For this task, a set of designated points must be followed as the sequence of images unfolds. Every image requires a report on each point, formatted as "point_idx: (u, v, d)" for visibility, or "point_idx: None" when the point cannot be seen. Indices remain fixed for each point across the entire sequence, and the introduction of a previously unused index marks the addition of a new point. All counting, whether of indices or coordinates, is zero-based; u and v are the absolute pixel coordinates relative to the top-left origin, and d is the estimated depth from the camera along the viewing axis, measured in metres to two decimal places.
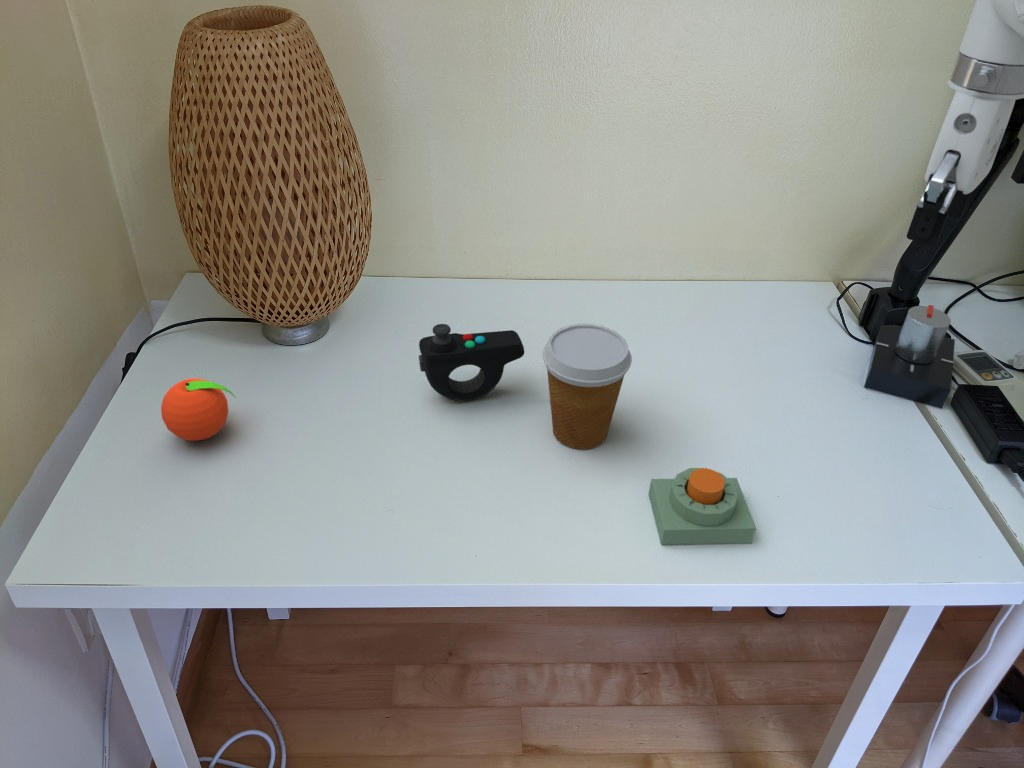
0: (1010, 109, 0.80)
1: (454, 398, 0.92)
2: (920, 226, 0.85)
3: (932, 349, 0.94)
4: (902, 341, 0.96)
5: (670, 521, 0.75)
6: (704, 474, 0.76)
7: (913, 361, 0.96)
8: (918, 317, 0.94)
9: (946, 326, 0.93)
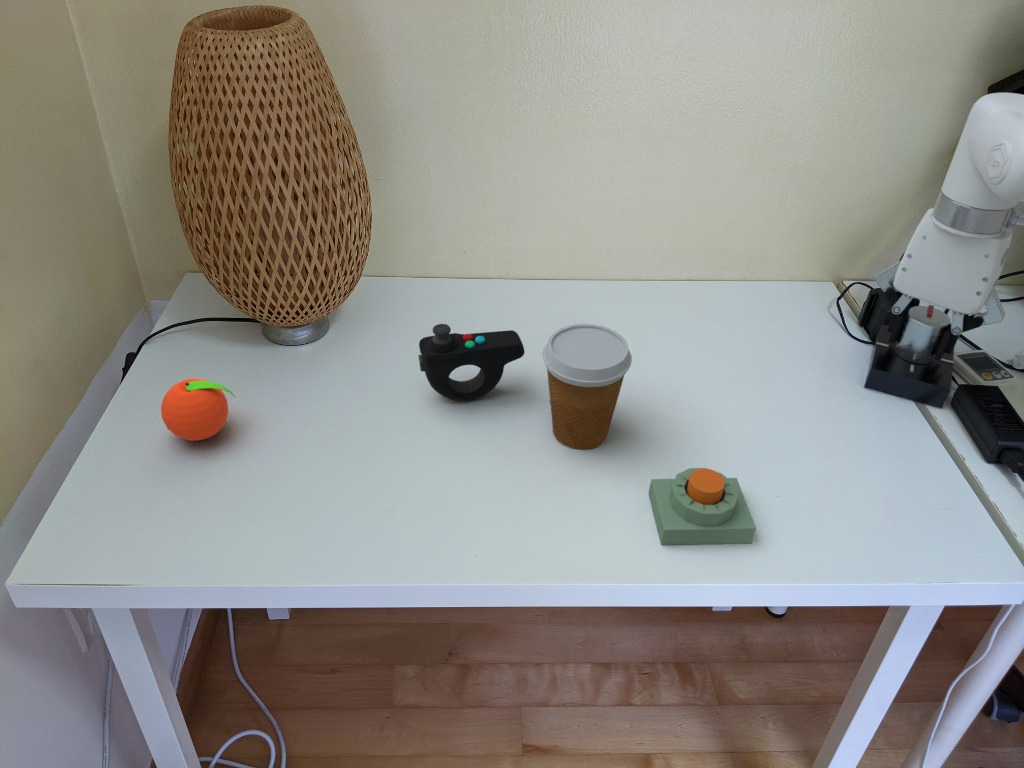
0: None
1: (454, 398, 0.92)
2: (954, 345, 0.94)
3: (932, 349, 0.94)
4: (902, 341, 0.96)
5: (670, 521, 0.75)
6: (704, 474, 0.76)
7: (913, 361, 0.96)
8: (918, 317, 0.94)
9: (946, 326, 0.93)
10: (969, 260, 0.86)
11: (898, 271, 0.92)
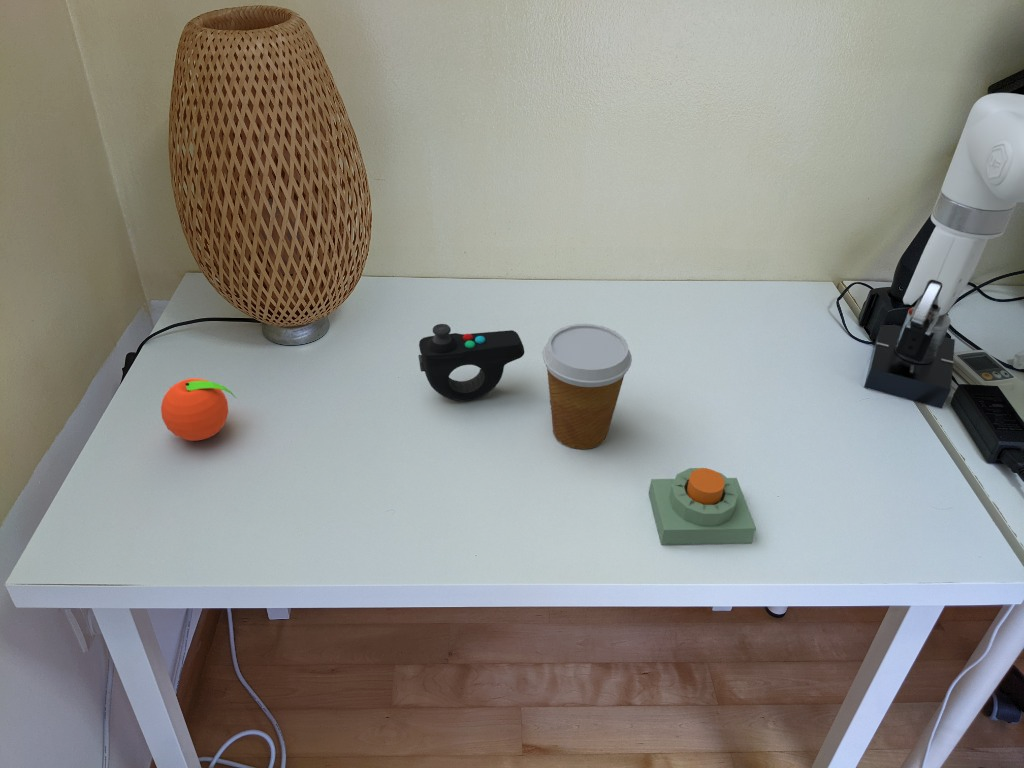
0: None
1: (454, 398, 0.92)
2: None
3: None
4: (931, 350, 0.94)
5: (670, 521, 0.75)
6: (704, 474, 0.76)
7: (935, 356, 0.97)
8: (937, 323, 0.93)
9: None
10: None
11: (949, 300, 0.87)
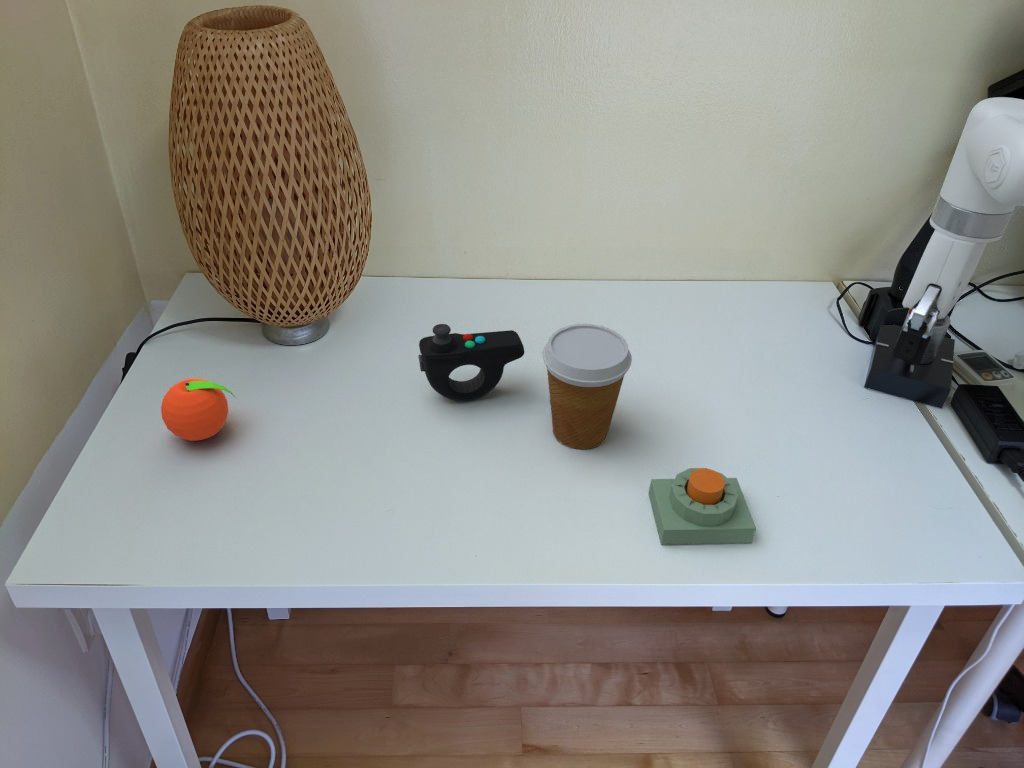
0: None
1: (454, 398, 0.92)
2: None
3: None
4: (931, 350, 0.94)
5: (670, 521, 0.75)
6: (704, 474, 0.76)
7: (935, 357, 0.97)
8: (936, 323, 0.93)
9: None
10: None
11: (948, 303, 0.87)
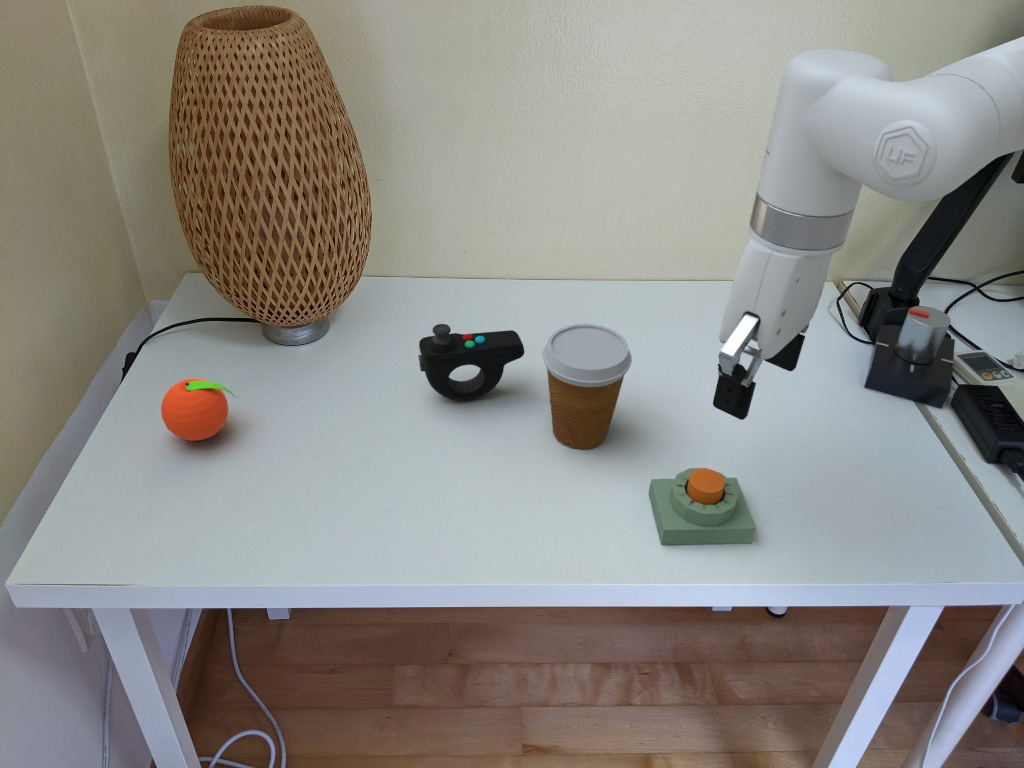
0: None
1: (454, 398, 0.92)
2: None
3: None
4: (931, 350, 0.94)
5: (670, 521, 0.75)
6: (704, 474, 0.76)
7: (935, 357, 0.97)
8: (936, 323, 0.93)
9: None
10: (821, 268, 0.65)
11: (771, 339, 0.63)
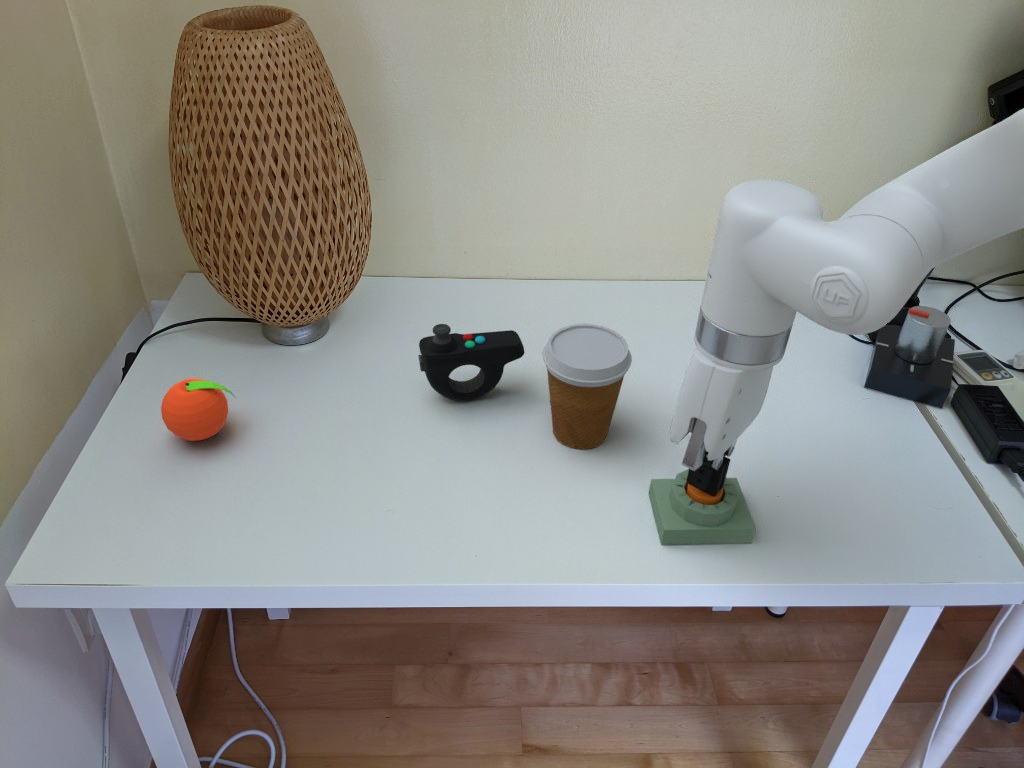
0: None
1: (454, 398, 0.92)
2: None
3: None
4: (931, 350, 0.94)
5: (670, 521, 0.75)
6: None
7: (935, 357, 0.97)
8: (936, 323, 0.93)
9: None
10: (765, 373, 0.68)
11: (717, 443, 0.66)
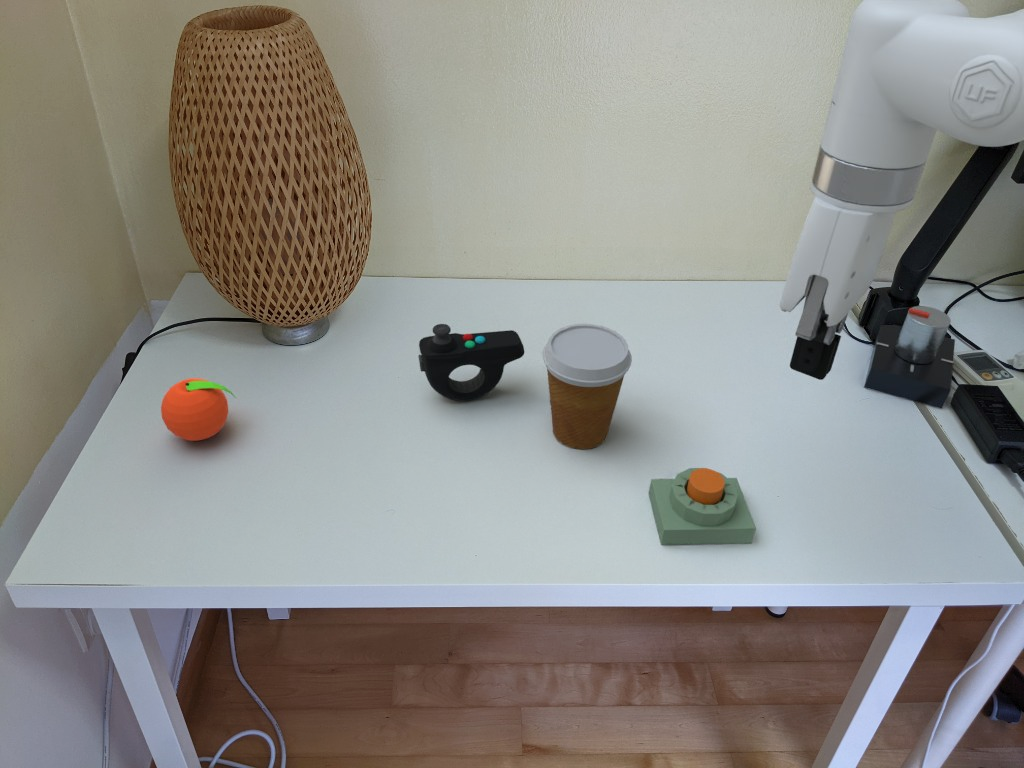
0: None
1: (454, 398, 0.92)
2: None
3: None
4: (931, 350, 0.94)
5: (670, 521, 0.75)
6: (704, 474, 0.76)
7: (935, 357, 0.97)
8: (936, 323, 0.93)
9: None
10: None
11: (839, 303, 0.60)
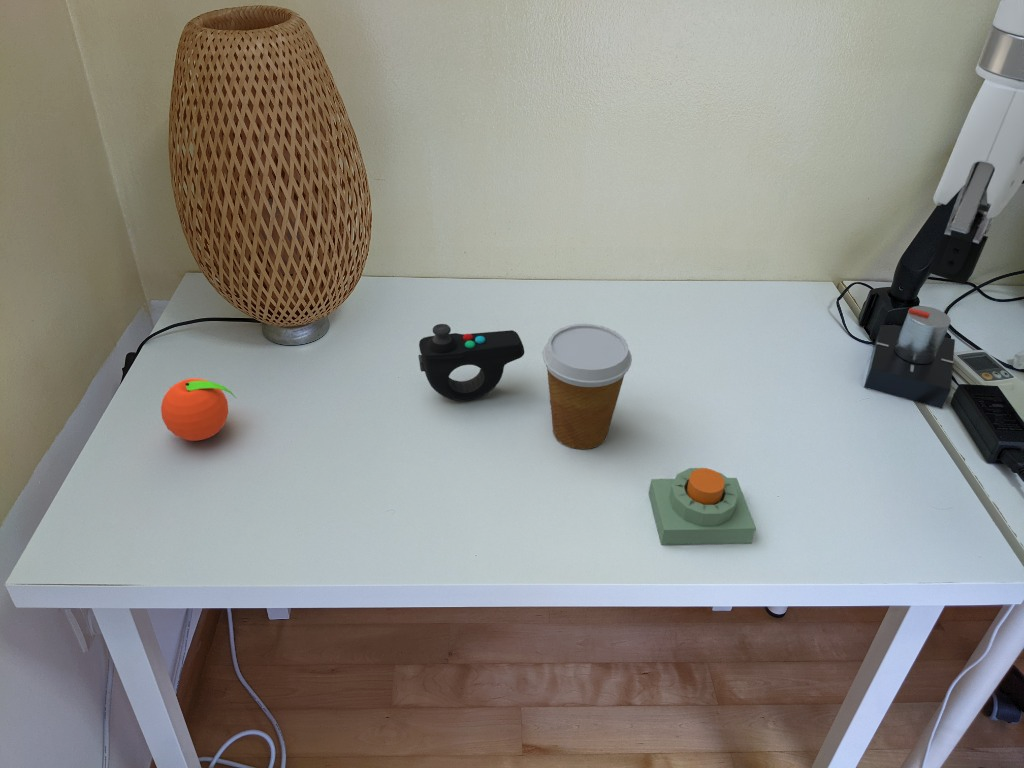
0: None
1: (454, 398, 0.92)
2: None
3: None
4: (931, 350, 0.94)
5: (670, 521, 0.75)
6: (704, 474, 0.76)
7: (935, 357, 0.97)
8: (936, 323, 0.93)
9: None
10: None
11: (1004, 191, 0.59)
